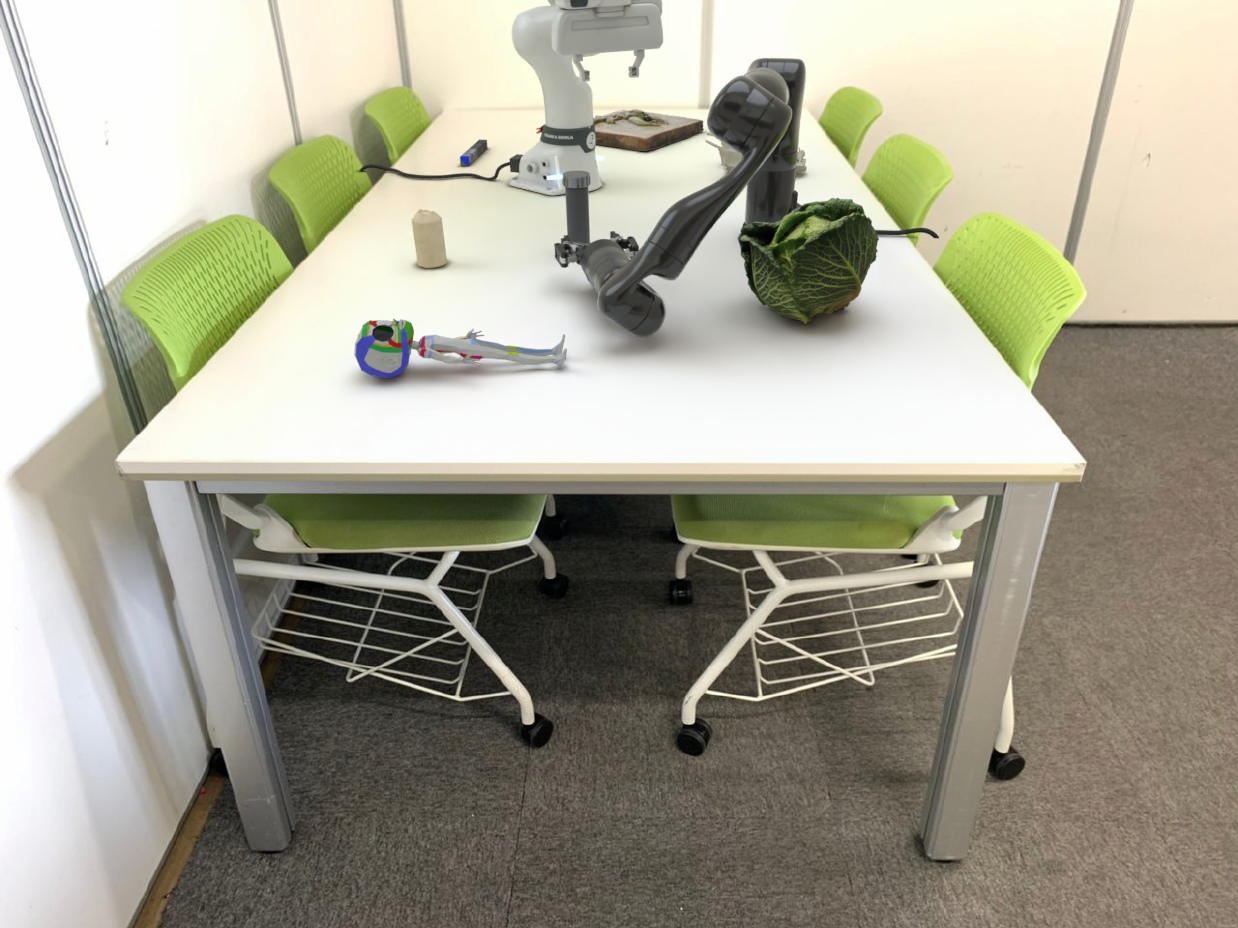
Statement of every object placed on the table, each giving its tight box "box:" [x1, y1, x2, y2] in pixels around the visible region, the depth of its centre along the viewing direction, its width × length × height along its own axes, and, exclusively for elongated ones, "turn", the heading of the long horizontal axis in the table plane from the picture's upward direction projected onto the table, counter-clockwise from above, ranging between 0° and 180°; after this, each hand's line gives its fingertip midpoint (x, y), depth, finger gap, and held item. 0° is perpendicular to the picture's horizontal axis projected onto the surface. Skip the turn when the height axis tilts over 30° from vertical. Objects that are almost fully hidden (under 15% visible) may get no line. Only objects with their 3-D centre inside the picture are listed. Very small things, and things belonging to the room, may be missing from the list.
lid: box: [562, 171, 591, 188], centre depth 166 cm, size 5×5×2 cm
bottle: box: [565, 187, 591, 253], centre depth 169 cm, size 4×4×15 cm
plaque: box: [593, 108, 705, 152], centre depth 257 cm, size 30×7×30 cm
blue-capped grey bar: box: [459, 139, 488, 167], centre depth 240 cm, size 2×2×20 cm
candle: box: [411, 209, 448, 269], centre depth 167 cm, size 6×6×10 cm
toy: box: [353, 318, 568, 379], centre depth 130 cm, size 10×8×30 cm
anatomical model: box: [705, 131, 808, 174], centre depth 220 cm, size 15×9×25 cm
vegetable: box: [737, 197, 879, 325], centre depth 143 cm, size 20×19×20 cm
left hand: (609, 79), depth 164 cm, fingers open, 8 cm apart
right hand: (588, 238), depth 162 cm, fingers open, 8 cm apart
